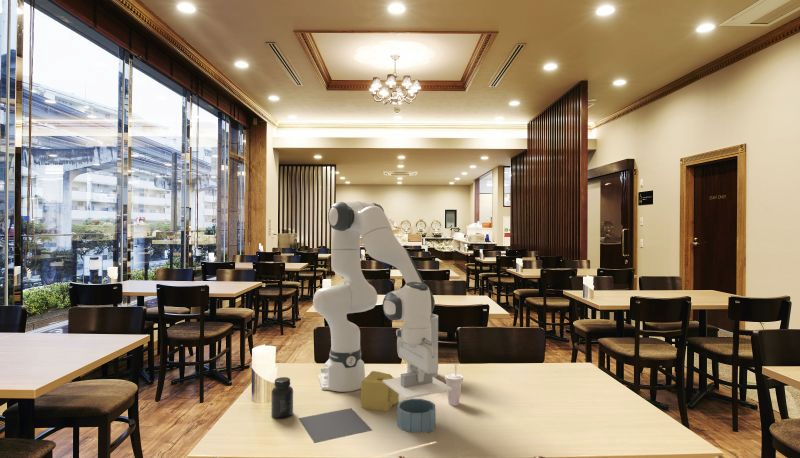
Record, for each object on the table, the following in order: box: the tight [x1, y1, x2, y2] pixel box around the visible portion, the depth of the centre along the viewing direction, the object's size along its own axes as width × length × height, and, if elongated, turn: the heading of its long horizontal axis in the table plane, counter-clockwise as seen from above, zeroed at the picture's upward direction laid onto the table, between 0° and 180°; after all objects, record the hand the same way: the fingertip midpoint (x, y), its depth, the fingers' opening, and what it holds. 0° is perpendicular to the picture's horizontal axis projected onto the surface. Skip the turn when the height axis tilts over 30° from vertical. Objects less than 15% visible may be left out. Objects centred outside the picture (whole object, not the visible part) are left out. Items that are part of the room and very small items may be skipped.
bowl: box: [396, 398, 436, 434], centre depth 141 cm, size 12×12×6 cm
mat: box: [298, 407, 373, 444], centre depth 141 cm, size 18×18×1 cm
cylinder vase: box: [406, 313, 439, 379], centre depth 186 cm, size 12×12×25 cm
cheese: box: [360, 370, 400, 412], centre depth 156 cm, size 10×11×10 cm
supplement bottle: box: [270, 376, 294, 420], centre depth 147 cm, size 7×7×12 cm
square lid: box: [383, 371, 453, 400], centre depth 141 cm, size 16×16×4 cm
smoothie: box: [444, 363, 464, 407], centre depth 158 cm, size 6×6×14 cm
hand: (416, 379), depth 141 cm, fingers closed on square lid, 2 cm apart
